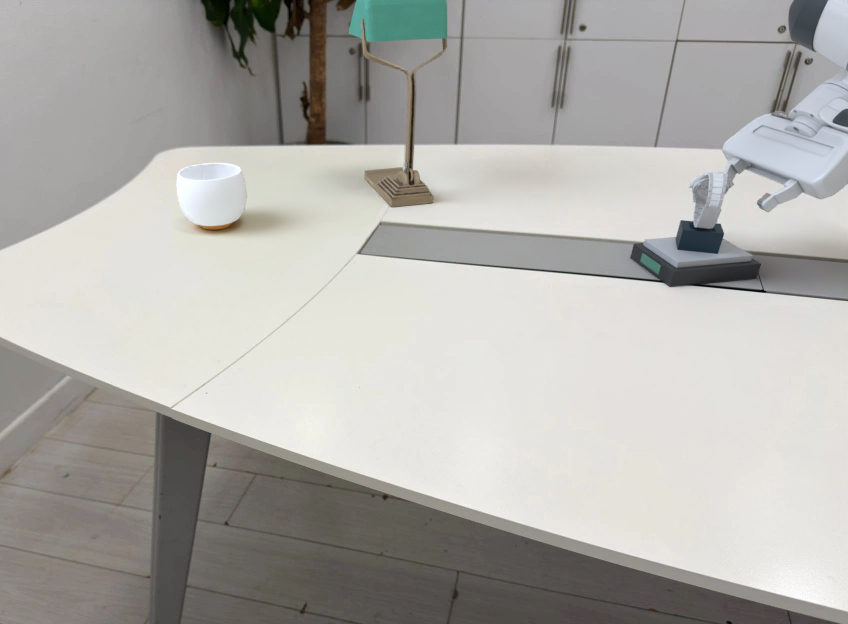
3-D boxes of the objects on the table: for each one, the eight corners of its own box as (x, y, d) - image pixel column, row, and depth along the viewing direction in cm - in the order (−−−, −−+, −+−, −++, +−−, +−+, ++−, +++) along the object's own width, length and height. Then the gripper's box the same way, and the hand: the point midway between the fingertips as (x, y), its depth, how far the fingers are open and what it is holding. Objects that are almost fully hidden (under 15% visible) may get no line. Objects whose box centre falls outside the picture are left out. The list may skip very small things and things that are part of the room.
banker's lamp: (372, 208, 129) (375, -2, 109) (346, 178, 146) (344, -9, 126) (450, 201, 132) (466, -5, 112) (415, 172, 148) (423, -12, 129)
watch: (713, 238, 104) (735, 167, 98) (719, 258, 98) (743, 183, 92) (673, 235, 106) (693, 164, 100) (677, 254, 99) (698, 179, 93)
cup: (191, 241, 116) (183, 185, 111) (175, 219, 126) (167, 167, 120) (258, 229, 120) (254, 175, 115) (238, 209, 130) (233, 158, 124)
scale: (710, 250, 109) (716, 230, 107) (756, 278, 100) (764, 257, 98) (628, 257, 107) (633, 237, 105) (668, 286, 98) (674, 265, 96)
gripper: (763, 94, 101) (686, 164, 105) (876, 122, 84) (780, 205, 88) (780, 123, 104) (704, 190, 108) (892, 157, 87) (798, 235, 91)
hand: (739, 197), depth 98 cm, fingers open, 8 cm apart
